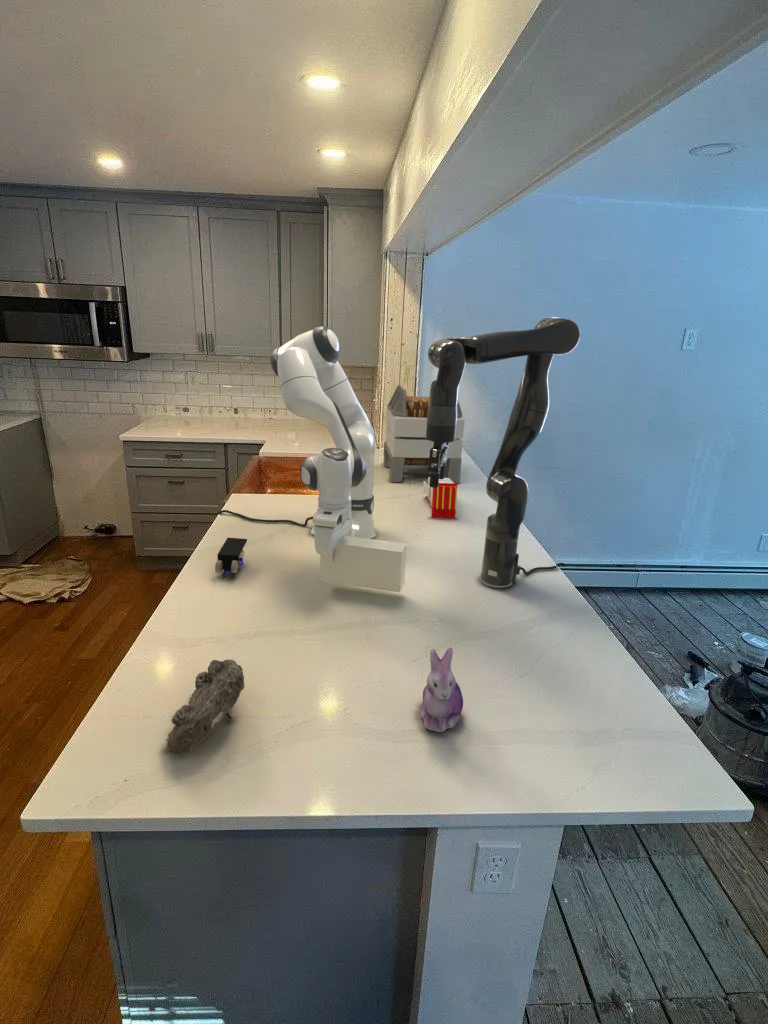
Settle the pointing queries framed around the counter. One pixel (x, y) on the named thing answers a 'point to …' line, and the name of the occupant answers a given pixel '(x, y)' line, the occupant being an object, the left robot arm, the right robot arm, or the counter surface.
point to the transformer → (416, 437)
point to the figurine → (441, 695)
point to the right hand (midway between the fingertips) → (436, 482)
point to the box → (366, 564)
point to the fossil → (206, 705)
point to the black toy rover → (230, 556)
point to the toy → (442, 498)
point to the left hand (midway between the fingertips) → (334, 556)
